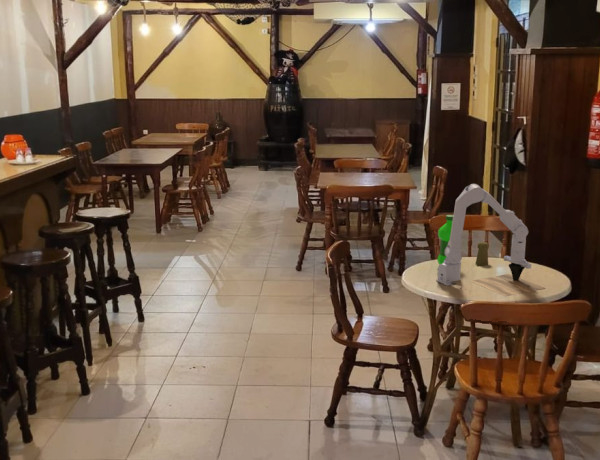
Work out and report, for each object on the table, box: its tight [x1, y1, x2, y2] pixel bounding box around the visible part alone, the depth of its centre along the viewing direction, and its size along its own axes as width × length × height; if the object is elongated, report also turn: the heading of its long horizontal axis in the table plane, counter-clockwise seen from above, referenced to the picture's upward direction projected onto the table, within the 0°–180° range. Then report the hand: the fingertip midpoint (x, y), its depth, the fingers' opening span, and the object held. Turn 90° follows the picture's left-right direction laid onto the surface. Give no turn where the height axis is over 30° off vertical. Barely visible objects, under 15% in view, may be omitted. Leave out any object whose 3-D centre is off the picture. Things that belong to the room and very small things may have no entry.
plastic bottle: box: [437, 214, 454, 266], centre depth 312 cm, size 10×10×25 cm
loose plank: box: [495, 273, 546, 292], centre depth 289 cm, size 7×22×2 cm, turn 26°
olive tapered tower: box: [475, 241, 490, 267], centre depth 318 cm, size 6×6×11 cm
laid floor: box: [470, 276, 531, 297], centre depth 284 cm, size 14×22×2 cm, turn 26°
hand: (515, 280), depth 291 cm, fingers closed, pressing on loose plank
